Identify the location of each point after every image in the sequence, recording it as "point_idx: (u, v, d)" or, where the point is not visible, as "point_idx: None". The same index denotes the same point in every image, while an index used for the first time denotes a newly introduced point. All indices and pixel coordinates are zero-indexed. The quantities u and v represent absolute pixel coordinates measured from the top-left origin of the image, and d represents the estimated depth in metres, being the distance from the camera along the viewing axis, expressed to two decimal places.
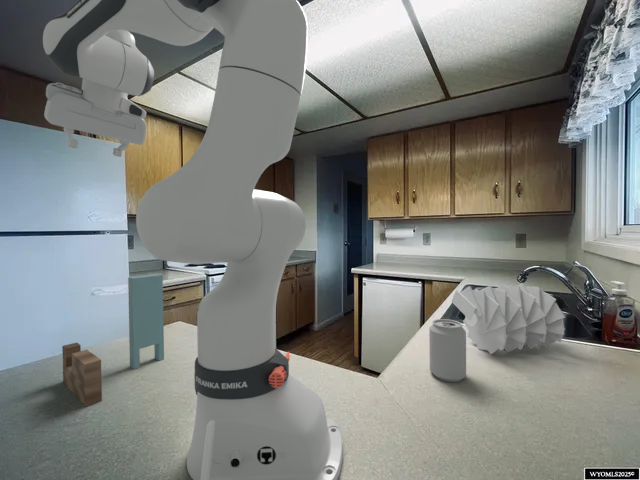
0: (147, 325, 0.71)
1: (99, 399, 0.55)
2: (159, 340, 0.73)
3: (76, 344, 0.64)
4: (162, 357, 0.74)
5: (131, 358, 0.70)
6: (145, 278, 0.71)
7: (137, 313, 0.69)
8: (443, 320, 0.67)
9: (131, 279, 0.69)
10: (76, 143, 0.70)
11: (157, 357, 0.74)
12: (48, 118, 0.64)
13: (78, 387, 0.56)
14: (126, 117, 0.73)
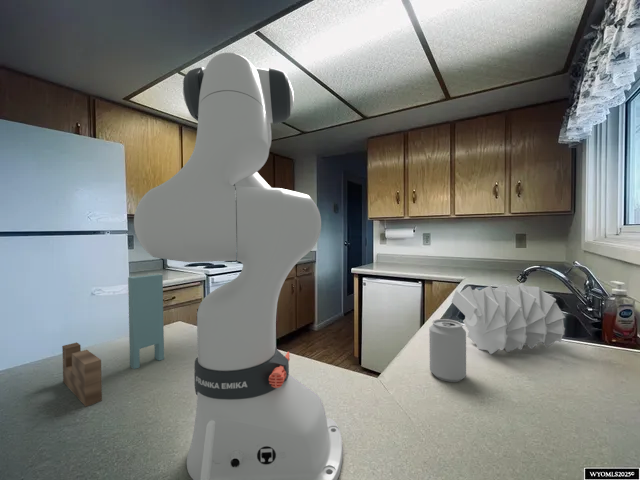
0: (147, 325, 0.71)
1: (99, 399, 0.55)
2: (159, 340, 0.73)
3: (76, 344, 0.64)
4: (162, 357, 0.74)
5: (131, 358, 0.70)
6: (145, 278, 0.71)
7: (137, 313, 0.69)
8: (443, 320, 0.67)
9: (131, 279, 0.69)
10: None
11: (157, 357, 0.74)
12: None
13: (78, 387, 0.56)
14: None
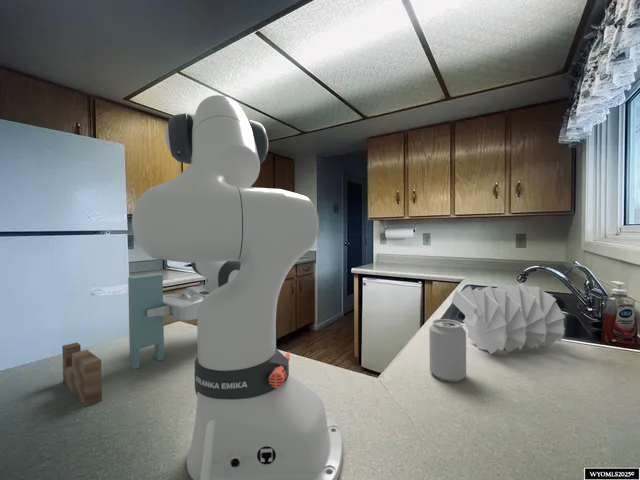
0: (147, 325, 0.71)
1: (99, 399, 0.55)
2: (159, 340, 0.73)
3: (76, 344, 0.64)
4: (162, 357, 0.74)
5: (131, 358, 0.70)
6: (145, 278, 0.71)
7: (137, 313, 0.69)
8: (443, 320, 0.67)
9: (131, 279, 0.69)
10: None
11: (157, 357, 0.74)
12: None
13: (78, 387, 0.56)
14: (193, 296, 0.78)
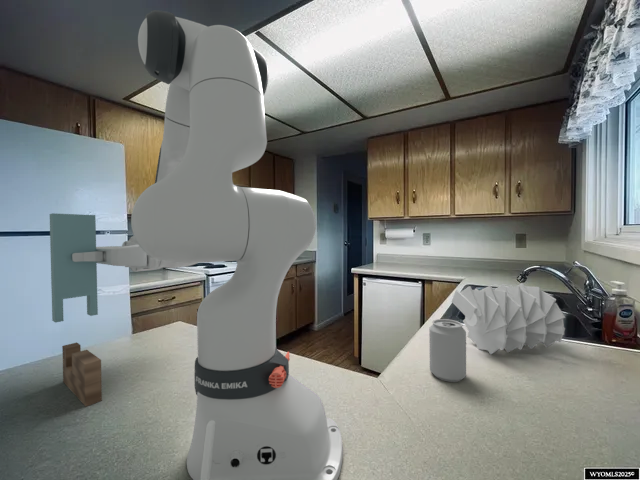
0: (74, 272, 0.60)
1: (99, 399, 0.55)
2: (91, 292, 0.62)
3: (76, 344, 0.64)
4: (95, 312, 0.63)
5: (53, 311, 0.58)
6: (71, 216, 0.59)
7: (60, 256, 0.58)
8: (443, 320, 0.67)
9: (52, 215, 0.57)
10: None
11: (89, 312, 0.63)
12: None
13: (78, 387, 0.56)
14: (135, 244, 0.66)
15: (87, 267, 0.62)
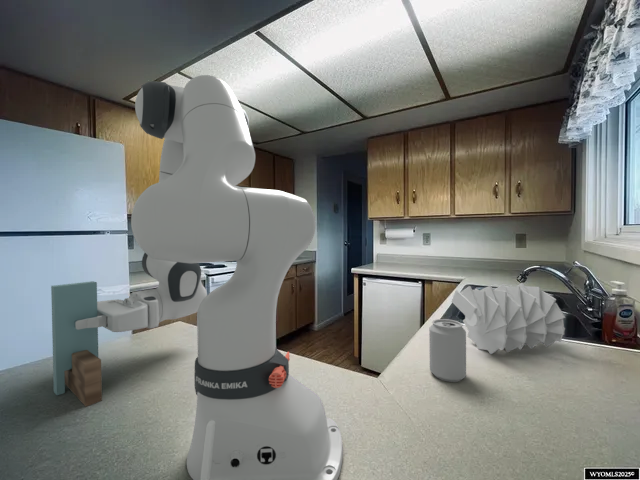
0: (76, 342, 0.60)
1: (99, 399, 0.55)
2: None
3: None
4: None
5: (54, 382, 0.58)
6: (72, 286, 0.60)
7: (61, 328, 0.58)
8: (443, 320, 0.67)
9: (53, 288, 0.58)
10: None
11: None
12: None
13: (78, 387, 0.56)
14: (136, 303, 0.66)
15: (88, 335, 0.62)
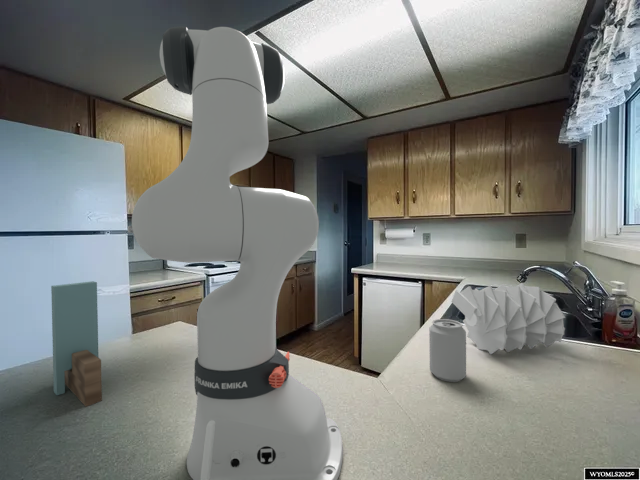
0: (76, 342, 0.60)
1: (99, 399, 0.55)
2: None
3: None
4: None
5: (54, 382, 0.58)
6: (72, 286, 0.60)
7: (61, 328, 0.58)
8: (443, 320, 0.67)
9: (53, 288, 0.58)
10: None
11: None
12: None
13: (78, 387, 0.56)
14: None
15: (88, 335, 0.62)
